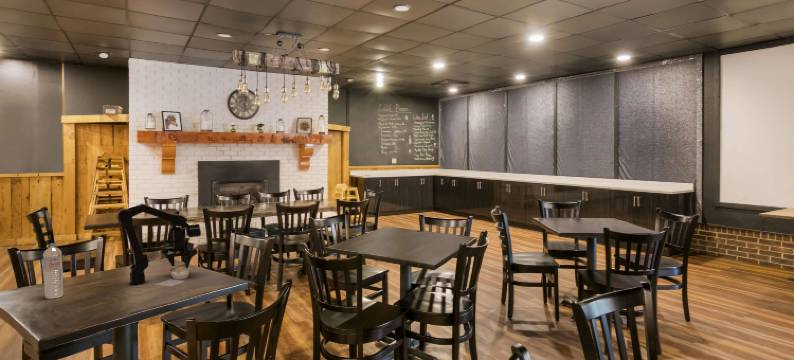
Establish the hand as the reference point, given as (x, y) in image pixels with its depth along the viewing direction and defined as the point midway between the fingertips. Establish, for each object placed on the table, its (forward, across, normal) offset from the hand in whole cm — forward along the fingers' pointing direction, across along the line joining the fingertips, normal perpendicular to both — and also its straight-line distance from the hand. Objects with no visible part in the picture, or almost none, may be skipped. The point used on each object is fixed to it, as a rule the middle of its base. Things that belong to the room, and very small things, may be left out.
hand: (180, 267), depth 241 cm
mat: (+6, -3, +10) cm, 12 cm away
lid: (+1, 0, 0) cm, 1 cm away
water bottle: (+6, +31, +44) cm, 54 cm away
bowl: (+6, 0, 0) cm, 6 cm away
